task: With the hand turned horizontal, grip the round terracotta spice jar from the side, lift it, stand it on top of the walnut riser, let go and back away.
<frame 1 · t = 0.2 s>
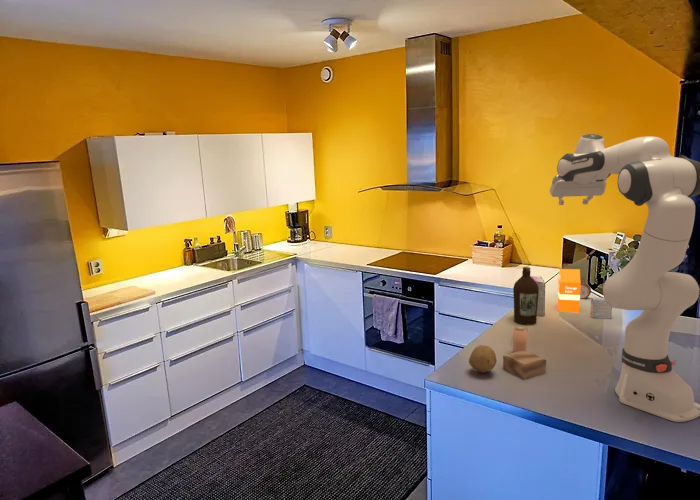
hand: (572, 204, 190), 54 cm above the table, tool tilted 30°, fingers open, 8 cm apart
orange juice: (567, 309, 226), on the table
tin: (574, 298, 244), on the table
natural sponge: (483, 373, 166), on the table
candy bar box: (536, 312, 224), on the table
walnut riser: (524, 370, 166), on the table
medicine box: (600, 317, 214), on the table
olive oil: (524, 322, 213), on the table
terracotta jar: (519, 353, 180), on the table
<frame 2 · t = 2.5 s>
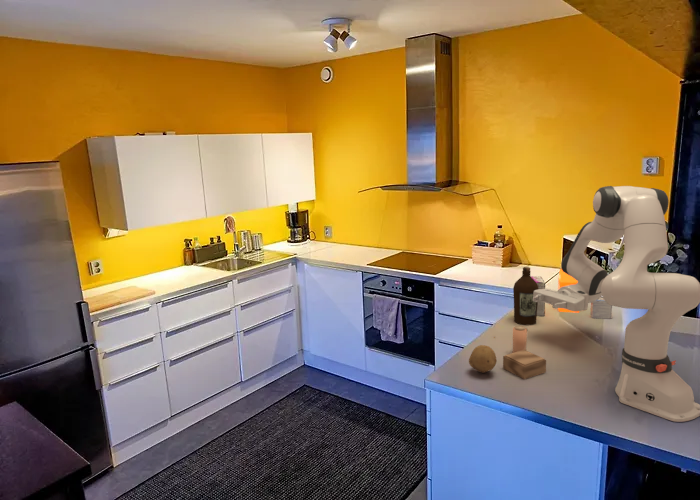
hand: (543, 302, 181), 18 cm above the table, tool horizontal, fingers open, 8 cm apart
nothing on the table moved.
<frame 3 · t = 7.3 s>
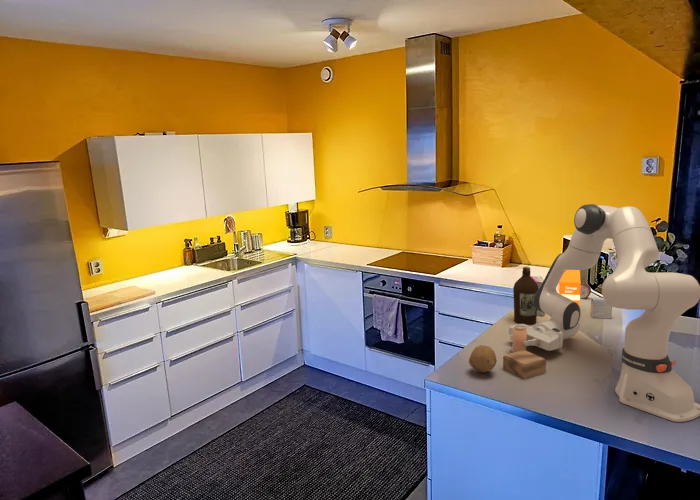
hand: (517, 340, 178), 6 cm above the table, tool horizontal, fingers closed on terracotta jar, 5 cm apart
terracotta jar: (519, 353, 180), on the table, touching gripper
everything else where it was.
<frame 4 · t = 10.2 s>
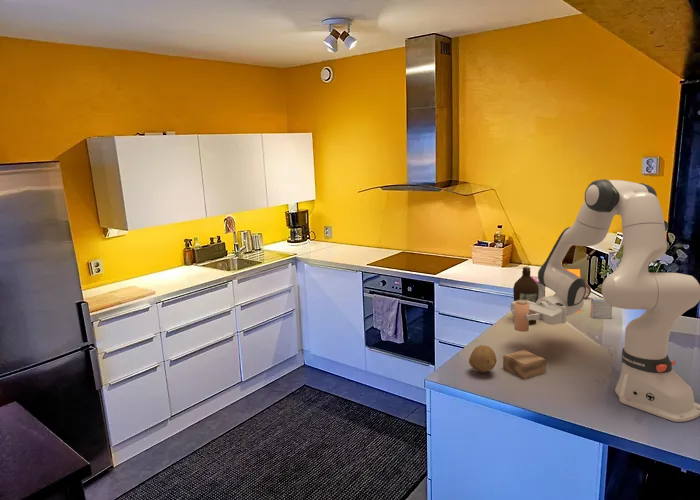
hand: (519, 315, 173), 17 cm above the table, tool horizontal, fingers closed on terracotta jar, 5 cm apart
terracotta jar: (521, 329, 174), point 11 cm above the table, touching gripper
everything else where it was.
when the fingers open (12 cm above the table, at t = 13.0 s): terracotta jar drops 1 cm, resting on walnut riser.
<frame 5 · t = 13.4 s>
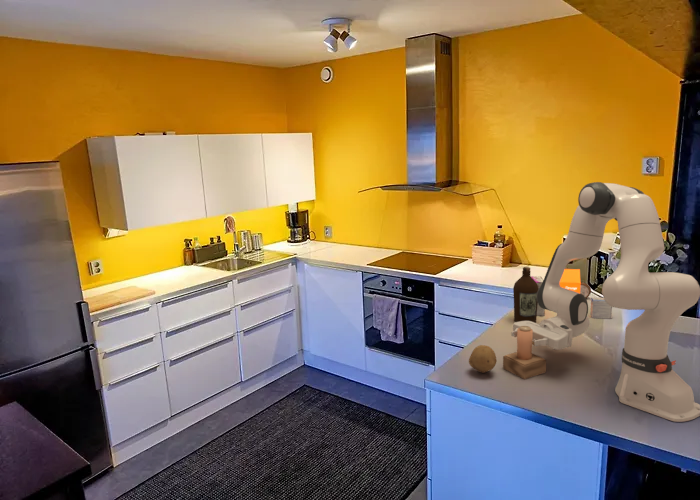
hand: (523, 338, 163), 12 cm above the table, tool horizontal, fingers open, 8 cm apart
terracotta jar: (524, 356, 165), point 5 cm above the table, touching walnut riser
everything else where it was.
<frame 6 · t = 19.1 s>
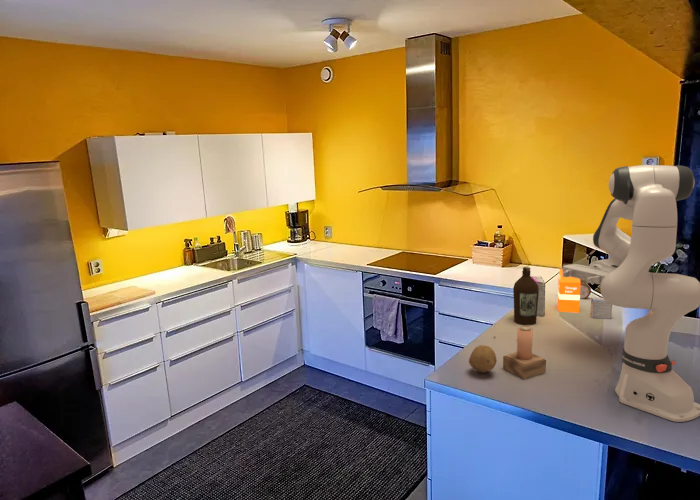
hand: (575, 277, 171), 30 cm above the table, tool horizontal, fingers open, 8 cm apart
nothing on the table moved.
at the end: terracotta jar inside the target area on the walnut riser (0.1 cm from its centre), point 5.1 cm above the walnut riser's base; terracotta jar tilted 1°; the gripper is holding nothing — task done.
